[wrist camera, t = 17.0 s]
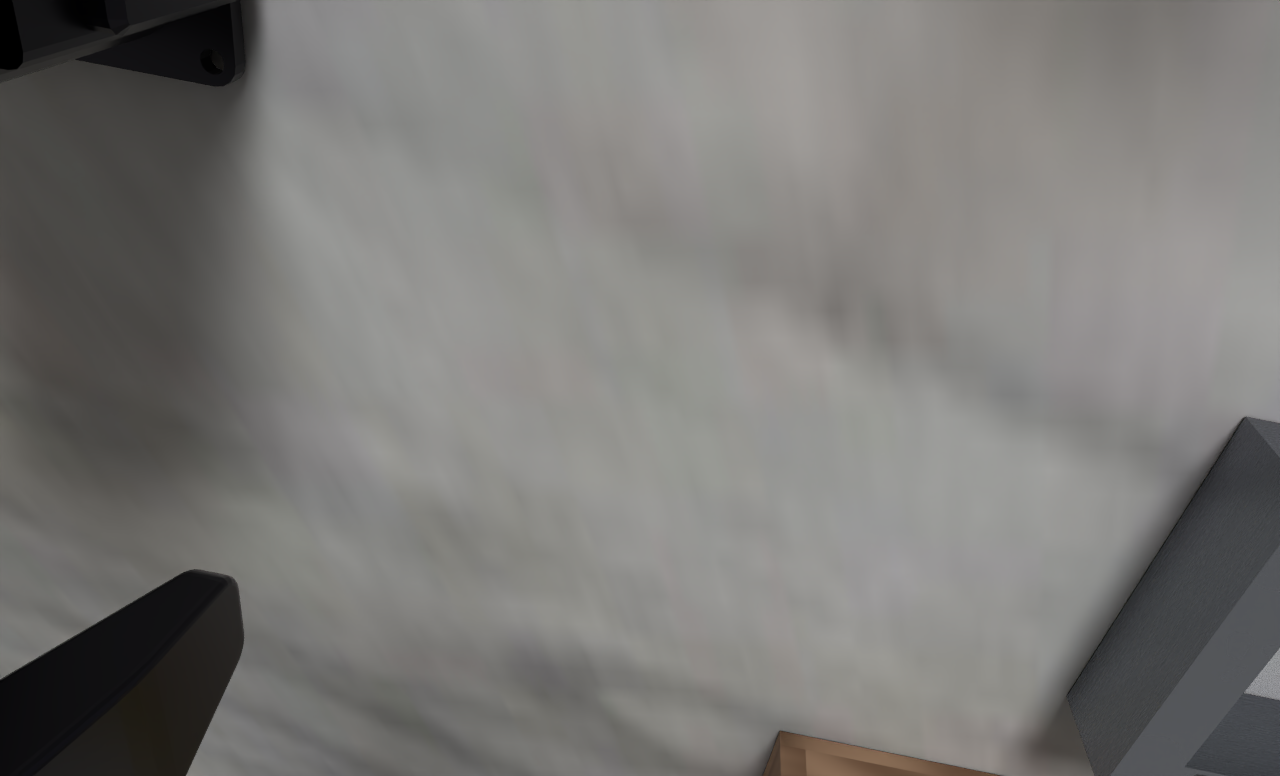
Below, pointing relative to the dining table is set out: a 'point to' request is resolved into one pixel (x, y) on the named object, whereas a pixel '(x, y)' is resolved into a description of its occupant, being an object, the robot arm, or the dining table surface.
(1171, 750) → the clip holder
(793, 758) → the walnut tray
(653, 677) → the dining table surface
